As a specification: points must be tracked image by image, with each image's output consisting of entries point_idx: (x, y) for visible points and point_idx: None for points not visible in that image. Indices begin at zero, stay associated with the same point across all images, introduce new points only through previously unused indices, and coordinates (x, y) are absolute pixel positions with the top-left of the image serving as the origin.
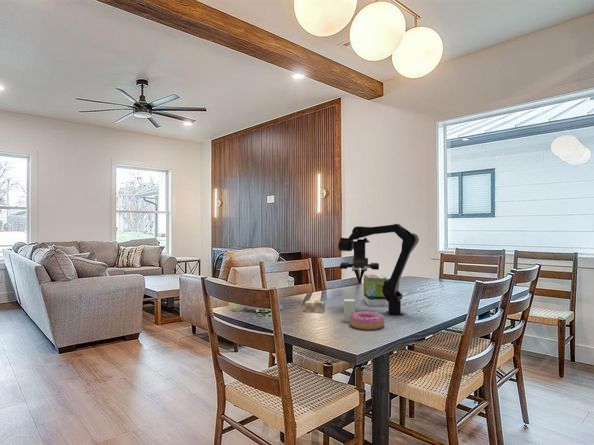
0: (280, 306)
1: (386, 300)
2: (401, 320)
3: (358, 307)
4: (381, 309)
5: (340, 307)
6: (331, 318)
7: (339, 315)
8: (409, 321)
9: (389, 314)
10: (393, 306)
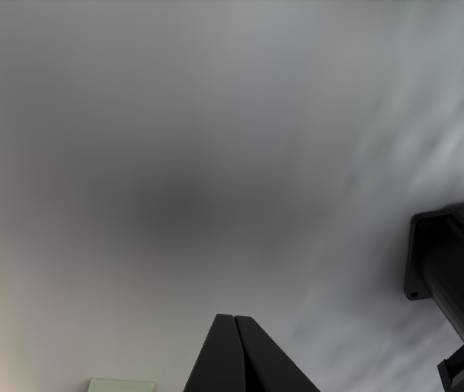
0: None
1: None
2: (417, 376)
3: (212, 25)
4: (422, 114)
5: (3, 28)
6: (3, 372)
7: (44, 310)
8: None
9: (404, 288)
10: (461, 338)
